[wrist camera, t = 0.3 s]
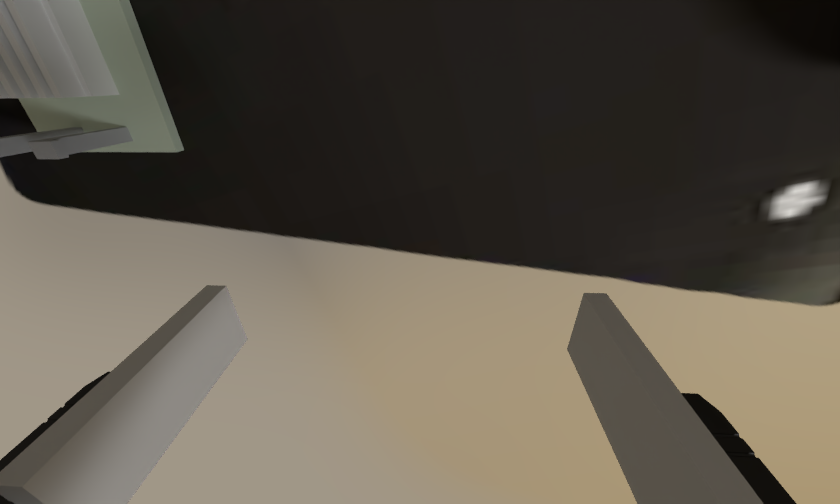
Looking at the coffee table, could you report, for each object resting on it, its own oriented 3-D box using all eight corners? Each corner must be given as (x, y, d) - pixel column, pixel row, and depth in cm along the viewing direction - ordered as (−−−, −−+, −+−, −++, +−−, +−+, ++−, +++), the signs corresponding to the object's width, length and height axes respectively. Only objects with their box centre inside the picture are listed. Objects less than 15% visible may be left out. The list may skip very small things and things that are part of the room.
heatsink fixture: (-103, -142, 27) (-376, -251, 18) (73, -152, 26) (-122, -273, 17) (59, 149, 38) (-56, 172, 29) (184, 150, 37) (104, 173, 29)
